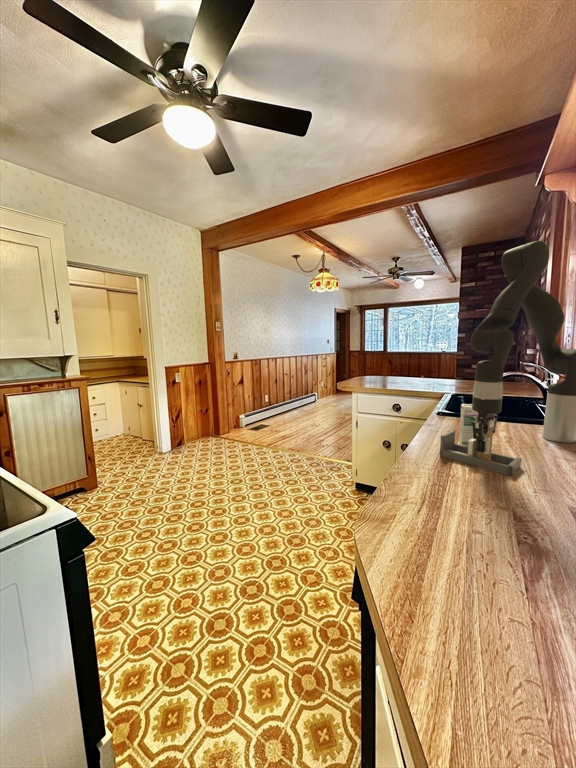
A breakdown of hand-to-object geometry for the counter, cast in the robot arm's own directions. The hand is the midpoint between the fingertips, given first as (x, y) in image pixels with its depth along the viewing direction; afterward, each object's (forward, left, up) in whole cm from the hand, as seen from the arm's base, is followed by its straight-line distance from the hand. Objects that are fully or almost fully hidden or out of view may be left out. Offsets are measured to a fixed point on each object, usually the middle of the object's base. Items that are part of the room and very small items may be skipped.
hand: (483, 449), depth 97 cm
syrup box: (-14, -9, -4) cm, 17 cm away
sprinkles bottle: (0, 0, -4) cm, 4 cm away
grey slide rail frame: (0, -1, -4) cm, 4 cm away
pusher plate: (0, -3, -2) cm, 4 cm away
